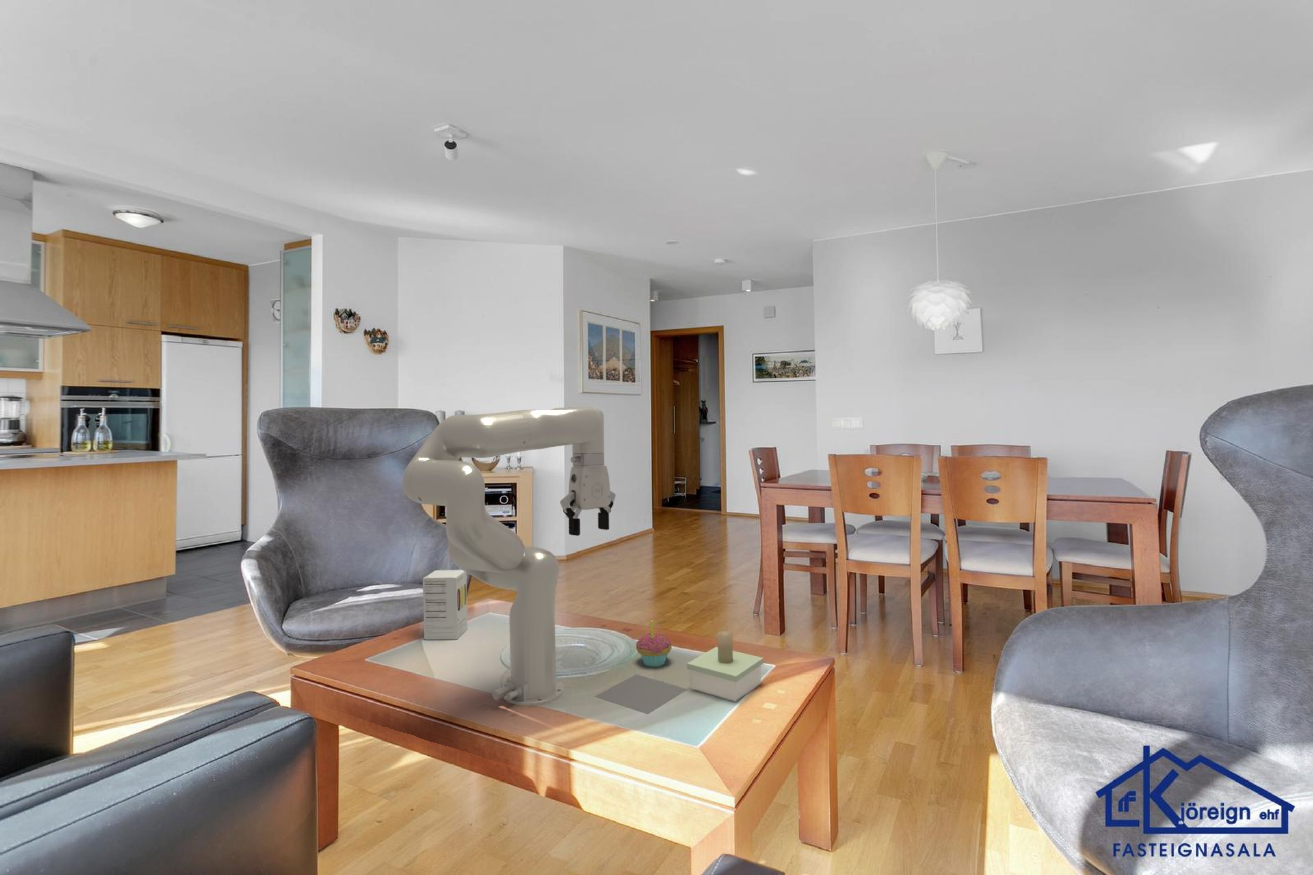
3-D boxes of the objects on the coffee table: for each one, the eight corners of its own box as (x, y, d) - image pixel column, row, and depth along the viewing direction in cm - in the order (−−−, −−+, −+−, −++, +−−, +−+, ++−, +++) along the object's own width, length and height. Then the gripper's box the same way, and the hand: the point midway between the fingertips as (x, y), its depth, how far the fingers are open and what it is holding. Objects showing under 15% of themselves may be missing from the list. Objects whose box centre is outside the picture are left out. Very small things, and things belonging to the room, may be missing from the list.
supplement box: (457, 640, 172) (456, 577, 172) (423, 640, 172) (421, 578, 172) (468, 628, 182) (467, 569, 181) (436, 628, 182) (434, 569, 181)
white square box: (735, 704, 132) (735, 680, 131) (690, 691, 138) (690, 668, 138) (760, 686, 140) (760, 663, 140) (717, 674, 147) (717, 652, 147)
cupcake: (668, 672, 148) (667, 621, 148) (632, 670, 150) (631, 619, 150) (674, 659, 157) (673, 610, 156) (640, 656, 158) (639, 608, 158)
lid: (736, 682, 131) (735, 646, 130) (686, 668, 138) (686, 635, 138) (763, 663, 140) (763, 630, 140) (716, 651, 147) (715, 620, 147)
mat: (647, 716, 127) (647, 713, 127) (594, 698, 135) (594, 696, 135) (687, 691, 138) (687, 689, 138) (636, 676, 146) (636, 674, 146)
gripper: (572, 463, 144) (573, 539, 145) (624, 459, 158) (625, 528, 158) (550, 462, 149) (551, 535, 150) (602, 458, 163) (603, 525, 163)
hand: (589, 532), depth 154 cm, fingers open, 9 cm apart
